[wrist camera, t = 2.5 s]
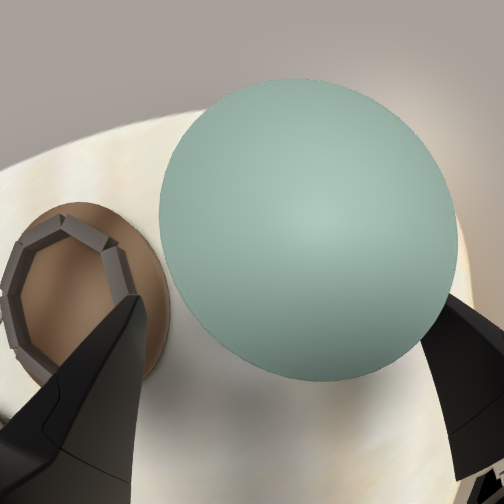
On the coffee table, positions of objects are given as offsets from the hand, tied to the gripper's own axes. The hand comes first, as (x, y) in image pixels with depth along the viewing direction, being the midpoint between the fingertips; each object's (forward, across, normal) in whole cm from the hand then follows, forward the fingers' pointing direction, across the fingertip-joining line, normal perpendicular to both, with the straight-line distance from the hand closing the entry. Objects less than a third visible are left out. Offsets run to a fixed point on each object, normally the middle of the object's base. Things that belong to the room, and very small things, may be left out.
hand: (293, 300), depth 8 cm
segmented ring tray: (+6, +12, +7) cm, 15 cm away
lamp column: (+8, 0, +5) cm, 9 cm away
